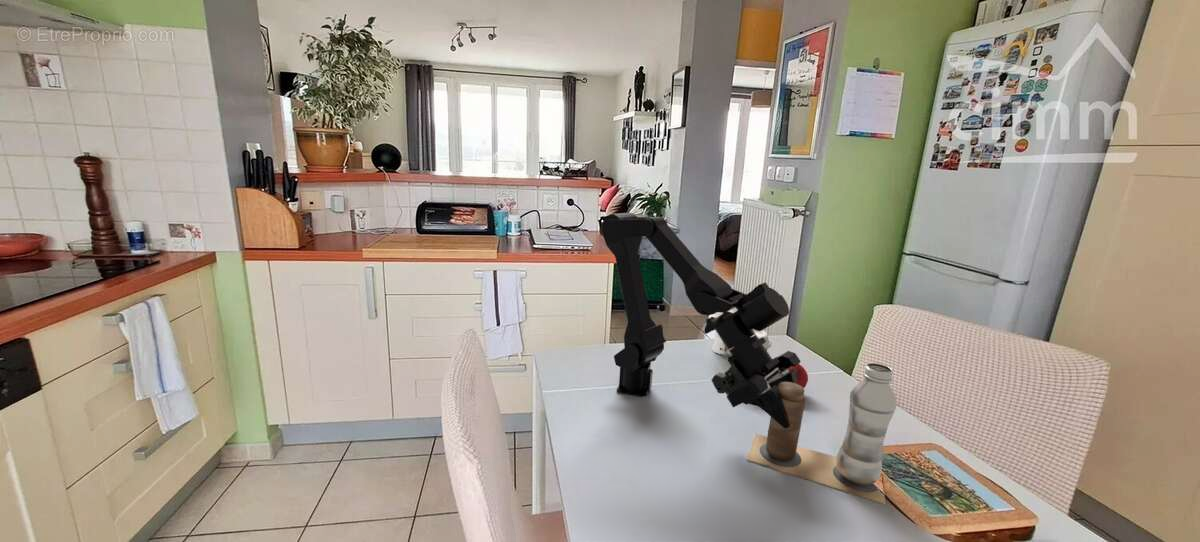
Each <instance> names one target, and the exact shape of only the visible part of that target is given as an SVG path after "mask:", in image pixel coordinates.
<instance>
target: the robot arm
mask: <svg viewBox="0 0 1200 542" xmlns="http://www.w3.org/2000/svg"><path fill="white" fill-rule="evenodd" d="M600 225H601V226H600V228H601V233H602V236H603V241H604V242H605V246H606V247H607V248H608V250H609V251H611V253H612V254H613V256H614V258H615V262H616V268H617V272H618V278H619V283H620V288H621V293H622V298H623V299H622V300H623V304H624V309H625V310H624V311H625V313H626V320H627V324H626V328H625V332H624V335H623V341H624V342H623V343H624V344H623V345H624V348H623V349H621V350H620V351H619V352H617V353H615V354H614V356H613V358H614V363H615V366H617V367H619V377H618V386H617V388H616V392H617V393H621V394H625V395H631V396H636V397H642V398H645V397H646V396H647V395H648V393H649V392H650V390H651V388H652V384H653V373H654V371H653V369H651V368H652V367H651V366H652V362H655V361H656V360H657V358H658V356H660V355H661V354H662V353H663V351H664V350H665V349H664V348H665V343H666V342H667V341H666V339H665V336H664V330H663V326H662V325H663V324H660V323H659V324H656V323H655V322H654V321H653V319H652V318H651V314H650V310H649V309H650V308H649V303H648V299H647V293H646V289H645V282H644V279H643V278H644V276H643V273H642V268H641V262H640V257H639V250H640V247H641V243H642V238H646V239H647V240H648V241H649V242H650V244H651V245H652V246H653V247H654V248H655V250H656V251H657V252H658V253H659V254H660V255H661V257H662V258H663V259H664V261H665V262H666V263H667V264H668V266H669V267H670V268H671V269H672V270H673V271H674V273H675V274H676V276H677V277H679V279H680V280H681V283H683V286H684V290H685V291H684V292H685V295H686V297H687V299H688V300H689V303H691V306H692V307H693V309H694V310H695V311H696V312H697V313H698V314H700V315H702V316H710V317H707V318H706V319H705V320H706V322H705V323H706V324H705V327H704V330H703V332H704V334H707V335H708V334H709V333H712V332H713V331H715V330H716V332H717V333H718V335H719V337H720V338H721V340H722V341H723V343H724V344H725V346H726V348H727V349H728V350H729V349H730V350H729V352H730V354H731V355H729V356H728V357H727V362H728V363H729V365H730V367H729V368H728V369H727V370H726V371H724V373H723V372H721V371H720V372H718V373H716V374H714V376H713V377H712V379H711V382H712V385H713V386H714V388H715V390H716V392H717V393H719V394H726V399H727V400H728V402H729V404H730V405H731V406H732V408H735V407H737V406H739V405H742V404H743V405H751V406H756V407H759V408H760V409H761V410H763V411H764V412H765V413H766V414H767V415H769V416H770V417H772V418H773V419H774V420H775V421H777V422H778V423H779V424H780V425H781V426H782V427H783V428H788V427H790V422H789V419H788V416H787V413H786V410H785V407H784V404H783V402H782V399H781V396H780V393H779V390H778V384H779V383H781V382H792V383H795V384H797V379H796V372H797V370H796V369H794V370H792V371H790V372H789V371H788V368H790V367H791V366H793V367H794V366H796V365H797V364H801V362H802V361H801V360H800V358H799V356H798V355H797V354H796V353H795V352H793V351H791V350H790V351H789V350H787V351H785V352H784V353H782V354H780V355H778V356H774V358H772V357H771V354H770V353H769V352H768V349H767V350H766V349H765V347H764V346H763V344H764V343H765V342H766V341H765V339H764V338H763V337H762V338H760V339H759V338H758V337H757V335H755V332H754V331H753V329H755V330H757V331H762V330H763V331H765V329H767V328H769V327H771V326H772V325H774V324H776V323H777V322H779V321H781V320H783V318H786V317H788V316H789V315H790V308H789V305H788V303H787V301H786V299H785V298H784V296H783V295H782V294H780V293H779V292H778V291H776V290H775V289H774V288H772V287H769V285H768V284H767V282H762V283H760V284H758V285H756V286H755V287H754V288H753V289H752V290H751V291H750V292H748V293H744V292H742V291H739V290H738V289H737V290H736V289H734V288H732V286H731V285H730V284H729V283H728V282H727V281H726V280H724V278H722V277H721V276H719V274H717V273H715V272H713V271H712V270H710V269H707V268H706V267H705V266H704V265H703V264H701V262H700V261H699V260H698V259H697V258H696V257H695V255H694V254H693V252H691V251H690V249H689V248H688V247H687V246H686V245H685V244H684V242H683V241H682V240H681V239H680V238H679V236H677V234H676V233H675V232H674V231H673V229H672V228H670V226H669V225H668V222H667V220H666V219H665V218H664V217H662V216H652V217H651V216H648V217H647V216H645V217H644V216H637V215H636V214H635V213H633V212H621V213H611V214H607V215H606V216H605V217H604V219H603V220H602V222H601V224H600ZM733 308H736V309H737V310H738V311H736V312H735V313H731V312H727V311H729V310H731V309H733ZM717 312H722V313H723V314H721V315H720V316H718V317H717V318H715V317H714V314H715V313H717ZM712 315H713V316H712ZM753 335H754V336H753ZM751 336H752V337H751ZM733 347H734V348H733ZM731 348H732V349H731Z"/></svg>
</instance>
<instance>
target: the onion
mask: <svg viewBox="0 0 1200 542" xmlns="http://www.w3.org/2000/svg"><path fill="white" fill-rule="evenodd" d="M794 369H796V370H797V372H796V379H797V384H798V385H800V386H801V387H803V388H804V389H805V388H806V386H807V384H808V381H809V375H808V372H807V371H806V369H805V368H804V366H803V365H801V363H799V364H797V365H796V366H794V367H793V366H791V367H790V368H788V371H789V372H790V371H792V370H794Z"/></svg>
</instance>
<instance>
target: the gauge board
mask: <svg viewBox="0 0 1200 542" xmlns="http://www.w3.org/2000/svg"><path fill="white" fill-rule="evenodd" d="M766 442H767V435H766V436H765V435H762V434H758V433H755V434H754V437H753V439H752V442H751V445H750V448H749V451H748V453H747V458H746V461H748V462H750V463H751V462H752V463H755V464H757V465H761V466H763V467H767V468H770V469H772V470H776V471H780V472H782V473H785V474H789V475H791V476H795V477H797V478H802V479H804V480H807V481H811V482H813V483H817V484H820V485H823V486H827V487H828V488H829V487H830V488H832V489H835V490H838V491H841V492H845V493H848V494H851V495H854V496H858V497H861V498H864V499H866V500H870V501H873V502H876V503H878V504H883V505H886V497H885V493H884V494H883V493H881V492H880V491H879V489H877V487H876V486H875V485H874V484H871V485H858V484H855V483H852V482H850V481H848V480H846V479H845V478H844V477H842V476H841V474H840V473H839V471H838V469H837V466H836V457H837V456H833V455H831V454H830V455H829V454H827V453H823V452H819V451H817V450H813V449H809V448H807V447H806V448H805V447H802V446H799V445H797V450H796V455H795V458H794V459H792V460H781V459H777V458H775V457H773V456H771V455H770V454H769V453H768V452H767V451H766Z"/></svg>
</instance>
